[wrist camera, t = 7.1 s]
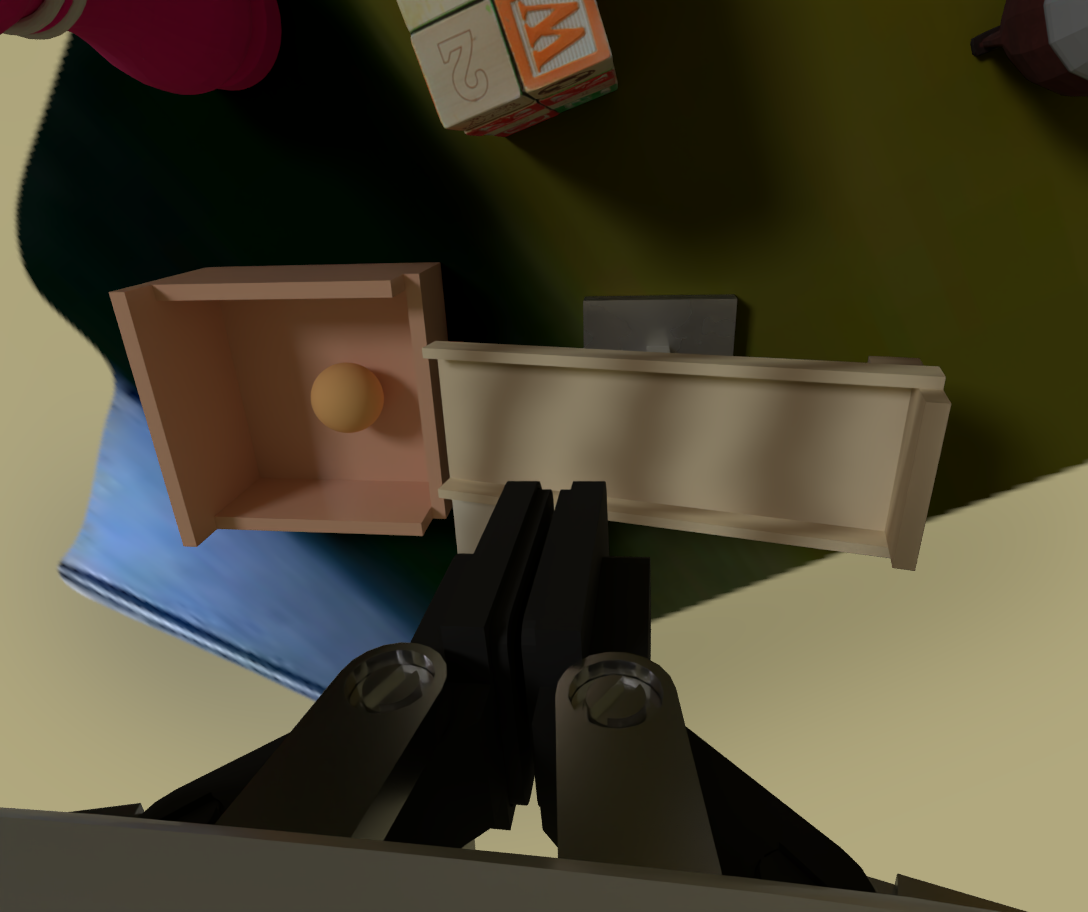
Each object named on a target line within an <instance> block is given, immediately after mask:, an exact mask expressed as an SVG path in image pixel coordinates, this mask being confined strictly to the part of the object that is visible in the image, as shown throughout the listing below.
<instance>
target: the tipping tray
mask: <svg viewBox="0 0 1088 912" xmlns="http://www.w3.org/2000/svg"><path fill="white" fill-rule="evenodd" d="M422 354H423V358H427V359H438V368H439V378H440V388H441V397H442V407H443V416H444V426H445V435H446V445H447V455H448V464H449V474H450V478H449V479H448V480H447V481H446V482H445V483H444V484H443V485H442V486H441V487H440V488H439V489H438V495H439V498H445V499H452V502H453V512H454V521H455V531H456V541H457V550H458V554H459V553H470V554H473V553H474V551H475V549H476V547H477V545H478V543H479V540H480V538H481V536H482V534H483V532H484V530H485V528H486V525H487V523H488V521H489V519H490V517H491V515H492V512H493V510H494V508H495V506H496V504H497V502H498V499H499V497H500V495H501V493H502V491H503V489H504V486H505V484H506V483H507V481H540V483H541V487H542V489H552V492H553V499H554V510H555V507H556V503H557V500H558V496H559V493H560V490H561V489H571V486H572V483H573V481H605V482H606V488H607V512H608V520H609V521H616V522H624V523H631V524H639V525H646V526H653V527H661V528H668V529H676V530H683V531H691V532H698V533H706V534H713V535H721V536H728V537H735V538H743V539H750V540H758V541H765V542H773V543H780V544H788V545H795V546H803V547H810V548H817V549H825V550H832V551H840V552H847V553H855V554H863V555H870V556H877V557H885V558H890V559H891V563H892V568H897V569H904V570H911V571H915V568H916V564H917V558H918V554H919V550H920V545H921V541H922V536H923V531H924V527H925V522H926V518H927V513H928V508H929V504H930V499H931V495H932V490H933V485H934V481H935V476H936V472H937V467H938V462H939V458H940V453H941V449H942V444H943V439H944V435H945V430H946V426H947V421H948V416H949V412H950V407H951V403H950V401H949V399H948V397H947V396H946V394H945V392H944V391H943V388H944V383H945V379H946V377H945V375H944V373H943V372H942V370H941V369H940V367H936V366H924V365H923V364H922V362H921V360H920V358H901V357H880V356H869V357H868V363H858V362H838V361H819V360H799V359H780V358H760V357H741V356H721V355H702V354H682V353H663V352H643V351H624V350H604V349H585V348H565V347H546V346H526V345H507V344H487V343H468V342H448V341H434V342H432V343H431V344H429V345H427V346H425V347H423V348H422Z"/></svg>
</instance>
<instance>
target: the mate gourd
mask: <svg viewBox="0 0 1088 912" xmlns="http://www.w3.org/2000/svg"><path fill="white" fill-rule="evenodd" d="M970 44H971V50H972V54H973V55H974V56H978V55H981V54H984V53H987V52H989V51H991V50H994V49H996V48H998V47H1003V49H1004V51H1005V53H1006V55H1007V56H1008V58H1009V59H1010V61H1011V62H1012V63H1013V64H1014V65H1015V66H1016V68H1017V69H1018V70H1019V71H1020V72H1021V73H1022V75H1023V76H1024V77H1025V78H1026V79H1027V80H1029V81H1031V82H1033V83H1035V84H1037V85H1040V86H1042V87H1044V88H1047V89H1048V90H1051V91H1054V92H1056V93H1058V94H1060V95H1065V96H1088V0H1006V4H1005V7H1004V11H1003V15H1002V19H1001V25H1000V26H998V27H995V28H993V29H991V30H989V31H987V32H984V33H982V34H980V35H978V36H976V37H975V38H973V39H972V40H971V43H970Z"/></svg>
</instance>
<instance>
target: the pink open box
mask: <svg viewBox="0 0 1088 912" xmlns="http://www.w3.org/2000/svg"><path fill="white" fill-rule="evenodd" d="M109 294H110V298H111V301H112V305H113V308H114V311H115V315H116V318H117V322H118V325H119V328H120V332H121V335H122V339H123V342H124V345H125V349H126V352H127V356H128V359H129V362H130V366H131V369H132V373H133V376H134V379H135V383H136V386H137V390H138V393H139V396H140V400H141V403H142V406H143V410H144V413H145V417H146V420H147V423H148V427H149V430H150V434H151V437H152V440H153V444H154V447H155V451H156V454H157V457H158V461H159V464H160V468H161V471H162V474H163V478H164V481H165V485H166V488H167V491H168V495H169V498H170V502H171V505H172V508H173V512H174V515H175V519H176V522H177V525H178V529H179V532H180V535H181V539H182V542H183V546H190V547H197V546H198V545H199V544H201V543H202V542H203V541H204V540H205V539H206V538H207V537H209V536H210V535H211V534H212V533H213V532H214V531H215V530H217V529H238V530H267V531H296V532H326V533H355V534H384V535H413V536H423V534H424V533H425V531H426V529H427V527H428V526H429V524H430V522H431V521H432V519H433V518H435V519H446V518H447V516H448V514H449V512H450V510H451V508H452V507H453V502H452V499H445V498H439V495H438V489H439V488H440V487H441V486H442V485H443V484H444V483H445V482H446V481H447V480H448V479H449V478H450V474H449V464H448V455H447V445H446V435H445V426H444V416H443V407H442V397H441V388H440V378H439V368H438V359H427V358H423V354H422V348H423V347H425V346H427V345H429V344H431V343H432V342H434V341H448V335H447V325H446V315H445V304H444V294H443V284H442V273H441V263H440V262H427V263H381V264H335V265H289V266H243V267H206V268H202V269H198V270H195V271H191V272H187V273H183V274H179V275H175V276H171V277H167V278H163V279H159V280H155V281H151V282H147V283H144V284H140V285H136V286H132V287H128V288H124V289H120V290H116V291H112V292H109ZM345 362H347V363H355V364H359V365H361V366H363V367H365V368H367V369H369V370H370V371H371V372H372V373H373V374H374V375H375V376H376V377H377V379H378V380H379V382H380V384H381V386H382V389H383V393H384V404H383V408H382V411H381V413H380V415H379V417H378V418H377V420H376V421H375V422H374V423H373V424H372V425H370V426H369V427H368V428H366V429H364V430H362V431H359V432H354V433H343V432H338V431H335V430H332V429H330V428H329V427H327V426H325V425H324V424H323V423H322V422H321V421H320V420H319V419H318V417H317V416H316V414H315V413H314V410H313V408H312V404H311V390H312V386H313V384H314V381H315V380H316V378H317V377H318V375H319V374H320V373H321V372H322V371H323V370H325V369H326V368H328V367H330V366H332V365H334V364H338V363H345Z"/></svg>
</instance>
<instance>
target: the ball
mask: <svg viewBox="0 0 1088 912" xmlns="http://www.w3.org/2000/svg"><path fill="white" fill-rule="evenodd" d="M311 404H312V408H313V410H314V413H315V414H316V416H317V417H318V419H319V420H320V421H321V422H322V423H323V424H324V425H325V426H327V427H329V428H330V429H332V430H335V431H338V432H343V433H354V432H359V431H362V430H364V429H366V428H368V427H369V426H370V425H372V424H373V423H374V422H375V421H376V420H377V418H378V417H379V415H380V413H381V411H382V408H383V404H384V393H383V389H382V386H381V384H380V382H379V380H378V379H377V377H376V376H375V375H374V374H373V373H372V372H371V371H370V370H369V369H367V368H365V367H363V366H361V365H359V364H355V363H347V362H345V363H338V364H334V365H332V366H330V367H328V368H326V369H325V370H323V371H322V372H321V373H320V374H319V375H318V377H317V378H316V380H315V381H314V384H313V386H312V390H311Z"/></svg>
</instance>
